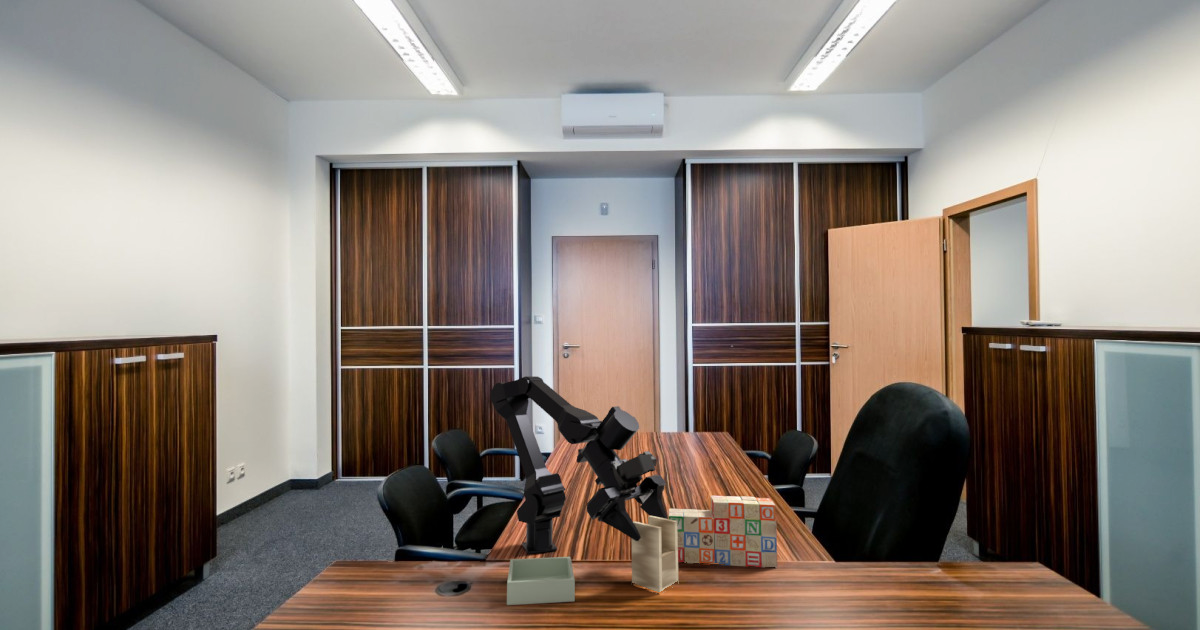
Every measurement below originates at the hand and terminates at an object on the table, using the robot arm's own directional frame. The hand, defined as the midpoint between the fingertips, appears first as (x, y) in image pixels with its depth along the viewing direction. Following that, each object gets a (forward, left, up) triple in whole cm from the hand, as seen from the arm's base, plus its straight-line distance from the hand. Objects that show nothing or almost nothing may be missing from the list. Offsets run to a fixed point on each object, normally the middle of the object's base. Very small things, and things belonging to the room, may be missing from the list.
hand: (654, 533), depth 95 cm
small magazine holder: (0, 0, -9) cm, 9 cm away
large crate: (-5, -20, -9) cm, 22 cm away
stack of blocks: (-7, +18, -9) cm, 22 cm away
